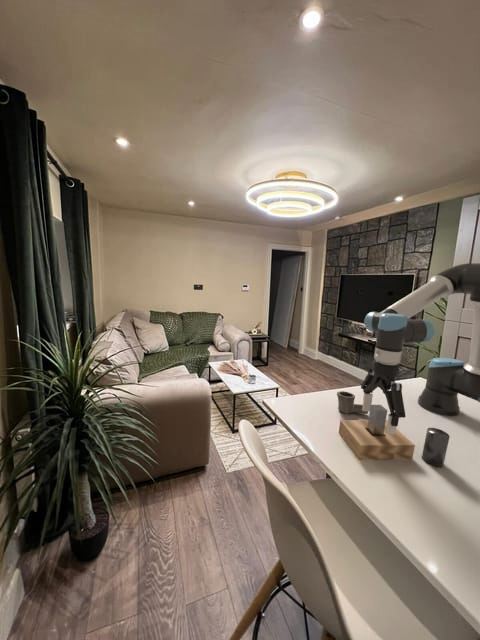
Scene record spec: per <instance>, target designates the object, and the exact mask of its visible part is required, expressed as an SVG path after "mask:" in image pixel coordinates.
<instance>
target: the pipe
mask: <svg viewBox="0 0 480 640" xmlns="http://www.w3.org/2000/svg"><path fill="white" fill-rule="evenodd" d="M336 396H337V399H338V400H337V402H338V405H337V406H338V407H337V409H338V411H339V412H340V413H343V414H345V415H346V414H351V413H352V414H353V413H354V414H361V415H369V411H363V410H362V408H363V404H358V403H355V399H356V395H355V394H353V393H351V392H349V391H337V392H336Z"/></svg>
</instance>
